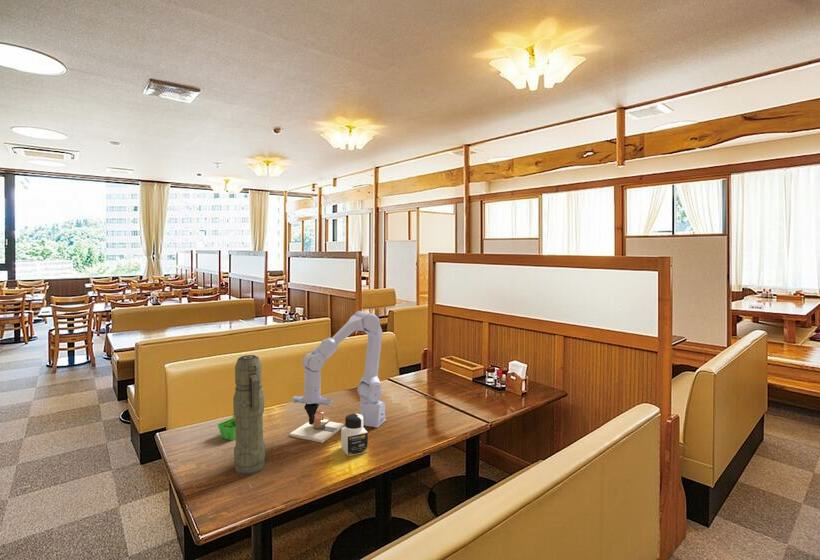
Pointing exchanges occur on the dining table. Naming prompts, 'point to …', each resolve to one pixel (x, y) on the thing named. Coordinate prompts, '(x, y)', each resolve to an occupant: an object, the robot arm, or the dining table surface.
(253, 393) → the thermos
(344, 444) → the medicine bottle
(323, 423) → the lever handle
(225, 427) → the fruit basket
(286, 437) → the dining table surface
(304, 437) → the board
